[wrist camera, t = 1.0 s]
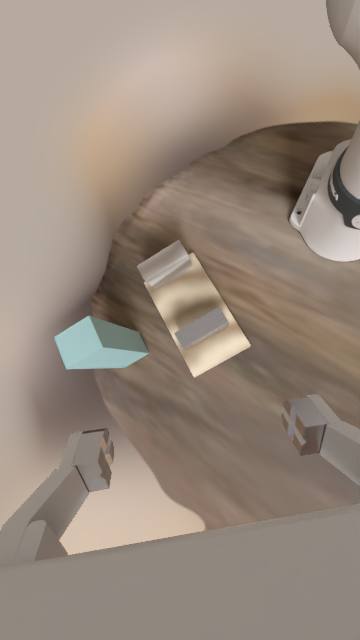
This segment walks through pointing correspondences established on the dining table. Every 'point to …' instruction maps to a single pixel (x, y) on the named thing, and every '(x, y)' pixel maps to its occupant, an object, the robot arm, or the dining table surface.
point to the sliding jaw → (202, 329)
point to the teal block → (99, 345)
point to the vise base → (190, 305)
